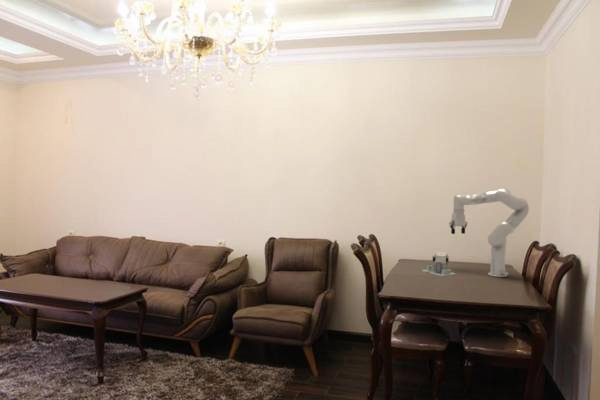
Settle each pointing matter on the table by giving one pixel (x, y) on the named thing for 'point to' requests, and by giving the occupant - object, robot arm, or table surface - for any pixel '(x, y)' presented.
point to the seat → (444, 272)
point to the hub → (438, 266)
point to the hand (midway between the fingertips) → (458, 233)
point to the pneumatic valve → (441, 258)
